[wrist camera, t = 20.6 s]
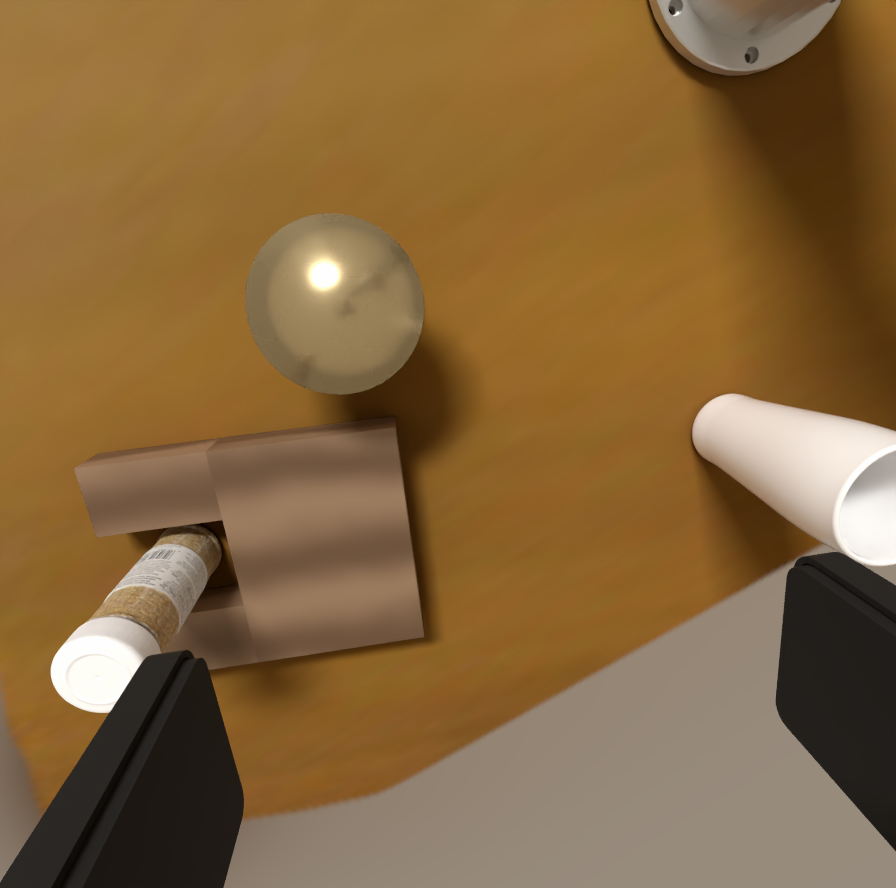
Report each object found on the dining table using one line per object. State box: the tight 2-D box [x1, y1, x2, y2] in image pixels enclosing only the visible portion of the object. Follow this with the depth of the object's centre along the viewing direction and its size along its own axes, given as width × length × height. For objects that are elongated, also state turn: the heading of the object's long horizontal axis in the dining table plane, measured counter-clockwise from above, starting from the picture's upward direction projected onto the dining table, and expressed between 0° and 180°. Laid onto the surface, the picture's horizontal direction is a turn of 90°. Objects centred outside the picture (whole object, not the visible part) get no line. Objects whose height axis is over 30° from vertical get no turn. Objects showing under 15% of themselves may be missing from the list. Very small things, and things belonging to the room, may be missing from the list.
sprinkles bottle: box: [51, 524, 222, 713], centre depth 33 cm, size 5×5×14 cm
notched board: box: [74, 416, 424, 670], centre depth 39 cm, size 16×20×3 cm
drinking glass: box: [692, 394, 896, 566], centre depth 34 cm, size 7×7×15 cm
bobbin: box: [245, 213, 424, 395], centre depth 32 cm, size 9×9×8 cm
